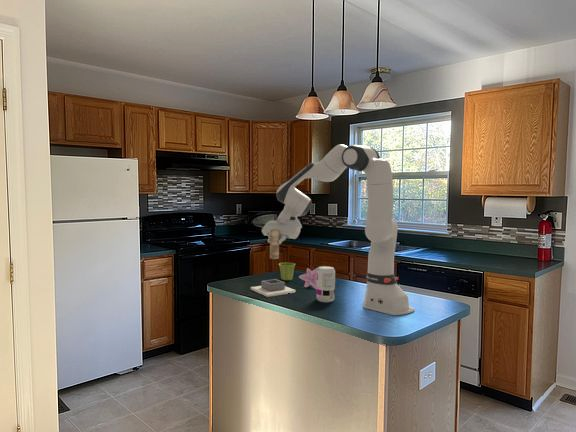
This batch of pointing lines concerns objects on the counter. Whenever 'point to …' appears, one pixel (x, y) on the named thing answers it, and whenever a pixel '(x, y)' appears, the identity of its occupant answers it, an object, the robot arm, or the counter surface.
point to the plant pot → (286, 270)
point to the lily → (310, 278)
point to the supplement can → (325, 284)
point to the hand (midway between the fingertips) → (273, 242)
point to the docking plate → (272, 288)
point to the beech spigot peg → (274, 244)
